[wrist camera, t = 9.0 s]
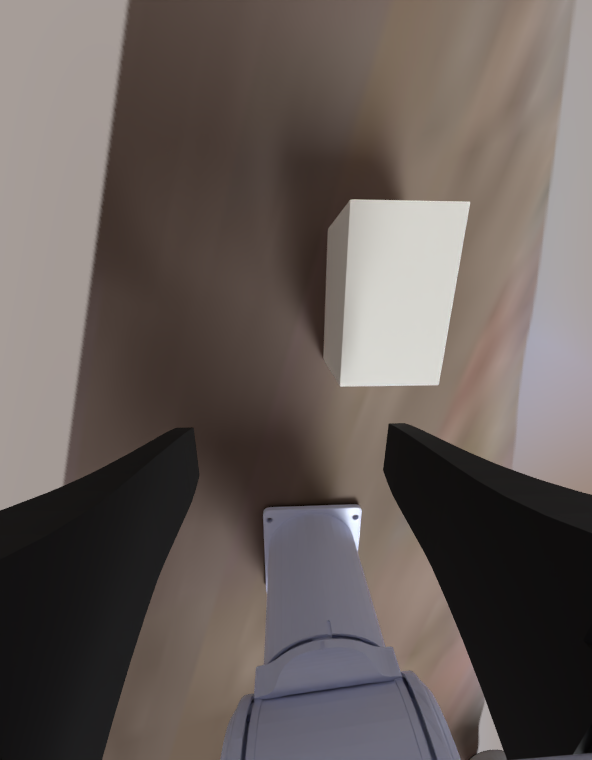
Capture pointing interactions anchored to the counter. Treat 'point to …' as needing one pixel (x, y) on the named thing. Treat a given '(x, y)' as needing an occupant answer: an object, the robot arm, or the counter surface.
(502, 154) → the counter surface
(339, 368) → the cabinet block
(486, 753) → the coffee cup
